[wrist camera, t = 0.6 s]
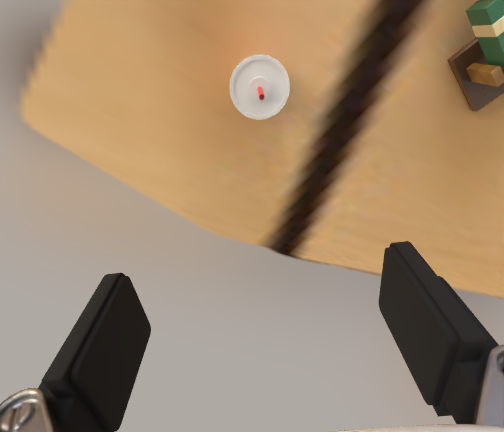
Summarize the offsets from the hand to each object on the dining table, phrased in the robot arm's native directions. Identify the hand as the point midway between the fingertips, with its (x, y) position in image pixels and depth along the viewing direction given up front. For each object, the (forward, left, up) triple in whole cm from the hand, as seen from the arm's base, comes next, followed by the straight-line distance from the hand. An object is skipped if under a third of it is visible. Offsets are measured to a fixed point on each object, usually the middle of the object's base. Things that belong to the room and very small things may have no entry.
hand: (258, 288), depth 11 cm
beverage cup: (-2, +3, -34) cm, 34 cm away
